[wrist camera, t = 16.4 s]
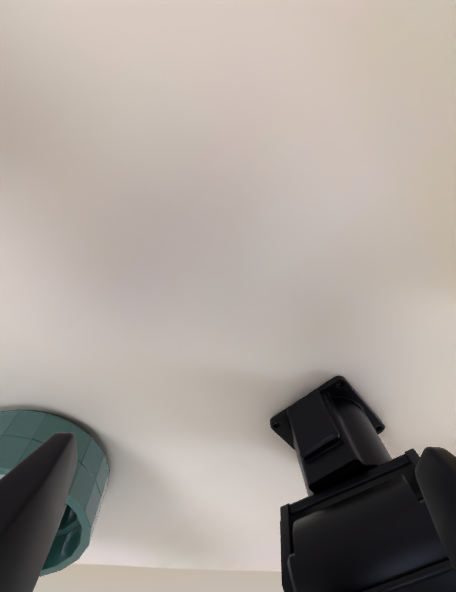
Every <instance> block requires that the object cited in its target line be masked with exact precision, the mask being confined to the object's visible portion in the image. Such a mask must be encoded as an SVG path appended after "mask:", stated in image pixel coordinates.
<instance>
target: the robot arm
mask: <svg viewBox="0 0 456 592" xmlns="http://www.w3.org/2000/svg"><path fill="white" fill-rule="evenodd" d="M339 382H341V383H340V384H338V383H339ZM275 423H278V424H275ZM270 425H271V428H272V429H273V430H274V431H275V432H276V433H277V434H278V435H279V436H280V437H281V438H282V439H283V440H285V441H286V442H287V443H288V444H289V445H290V446H291V447H292V448H293V449H294V450H295V451H296V454H297V457H298V461H299V464H300V468H301V472H302V475H303V479H304V482H305V486H306V489H307V493H308V497H306V498H304V499H302V500H299V501H297V502H295V503H293V504H289V503H288V504H286V505H284V506H282V507H281V508H280V511H281V521H280V533H281V569H282V586H283V590H284V592H456V457H455V456H454V455H452V454H451V453H450V452H448V451H447V450H445V449H443V448H440V447H427V448H425V449H424V451H423V453H422V455H421V457H419V455H418V454H417V453H416V451H415V450H414V449H410V450H408V451H406V452H405V454H404V455H401V456H399V457H397V458H395V459H392V458H391V457H390V455H389V453H388V451H387V450H386V448H385V446H384V445H383V443H382V441H381V439H380V438H379V436H378V434H379V433H381V432H382V431H383V430H384V429H385V426H384V424H383V423H382V421H381V420H380V419H379V418H378V416H377V415H376V414H375V413H374V412H373V411H372V410H371V408H370V407H369V406H368V405H367V404H366V403H365V401H364V400H363V399H362V398H361V397H360V396H359V394H358V393H357V392H356V391H355V390H354V389H353V388H352V386H351V385H350V384H349V383H348V382H347V381H346V379H345V378H344V377H342V376H336V377H334V378H332V379H331V380H329V381H328V382H326V383H325V384H323V385H322V386H320V387H319V388H317V389H316V390H314V391H313V392H311V393H309V394H308V395H306V396H305V397H303V398H302V399H300V400H299V401H297V402H296V403H294V404H293V405H291V406H290V407H288V408H286V409H285V410H283V411H282V412H280V413H279V414H277V415H276V416H274V417H273V418H272V419H271V420H270ZM76 465H77V447H76V437H75V434H74V433H72V432H57V433H55V434H53V435H52V436H51V437H50V438H49V439H47V440H46V441H45V442H44V443H43V444H41V445H40V446H39V447H38V448H37V449H36V450H34V451H33V452H32V453H31V454H30V455H28V456H27V457H26V458H25V459H24V460H22V461H21V462H20V463H19V464H18V465H17V466H15V467H14V468H13V469H12V470H11V471H9V472H8V473H7V474H6V475H5V476H3V477H2V478H1V479H0V592H33V590H34V587H35V585H36V582H37V580H38V577H39V575H40V573H41V570H42V568H43V565H44V563H45V560H46V558H47V555H48V553H49V551H50V548H51V546H52V543H53V540H54V538H55V535H56V532H57V529H58V526H59V522H60V519H61V516H62V512H63V509H64V506H65V502H66V499H67V496H68V492H69V489H70V486H71V482H72V479H73V476H74V472H75V469H76Z"/></svg>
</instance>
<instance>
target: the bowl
mask: <svg viewBox="0 0 456 592" xmlns="http://www.w3.org/2000/svg"><path fill="white" fill-rule="evenodd" d="M57 432H72V433H74V434H75V437H76V447H77V465H76V469H75V472H74V476H73V479H72V482H71V486H70V489H69V492H68V496H67V499H66V503H67V507H66V509H65V512H64V514H63V517H62V519H61V522H60V524H59V527H58V530H57V532H56V535H55V538H54V540H53V543H52V546H51V548H50V551H49V553H48V555H47V558H46V560H45V563H44V565H43V568H42V570H41V573H40V575H39V576H40V577H41V576H44V575H47V574H50V573H54V572H57V571H60V570H62V569H64V568H65V567H67V566H68V565H70V564H72V563H73V562H75V561H76V560H78V559H79V558H80V557H81V555H82V554H83V552H84V551H85V550H86V548H87V547H88V546H89V543H90V540H91V537H92V533H93V530H94V527H95V523H96V520H97V517H98V514H99V510H100V507H101V504H102V500H103V497H104V494H105V490H106V487H107V482H108V476H109V467H108V464H107V461H106V457H105V454H104V452H103V451H102V450H101V448H100V447H99V446H98V444H97V443H96V442H95V441H94V439H93V438H92V437H91V436H90V435H89V434H88V433H87V432H85V431H84V430H83V429H82V428H80V427H79V426H77V425H76V424H74V423H72V422H70V421H68V420H66V419H64V418H61V417H59V416H56V415H53V414H49V413H45V412H39V411H30V410H14V411H2V412H0V474H3V475H6V474H7V473H8V472H9V471H11V470H12V469H13V468H14V467H15V466H17V465H18V464H19V463H20V462H21V461H22V460H24V459H25V458H26V457H27V456H28V455H30V454H31V453H32V452H33V451H34V450H36V449H37V448H38V447H39V446H40V445H41V444H43V443H44V442H45V441H46V440H47V439H49V438H50V437H51V436H52V435H53V434H55V433H57Z"/></svg>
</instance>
